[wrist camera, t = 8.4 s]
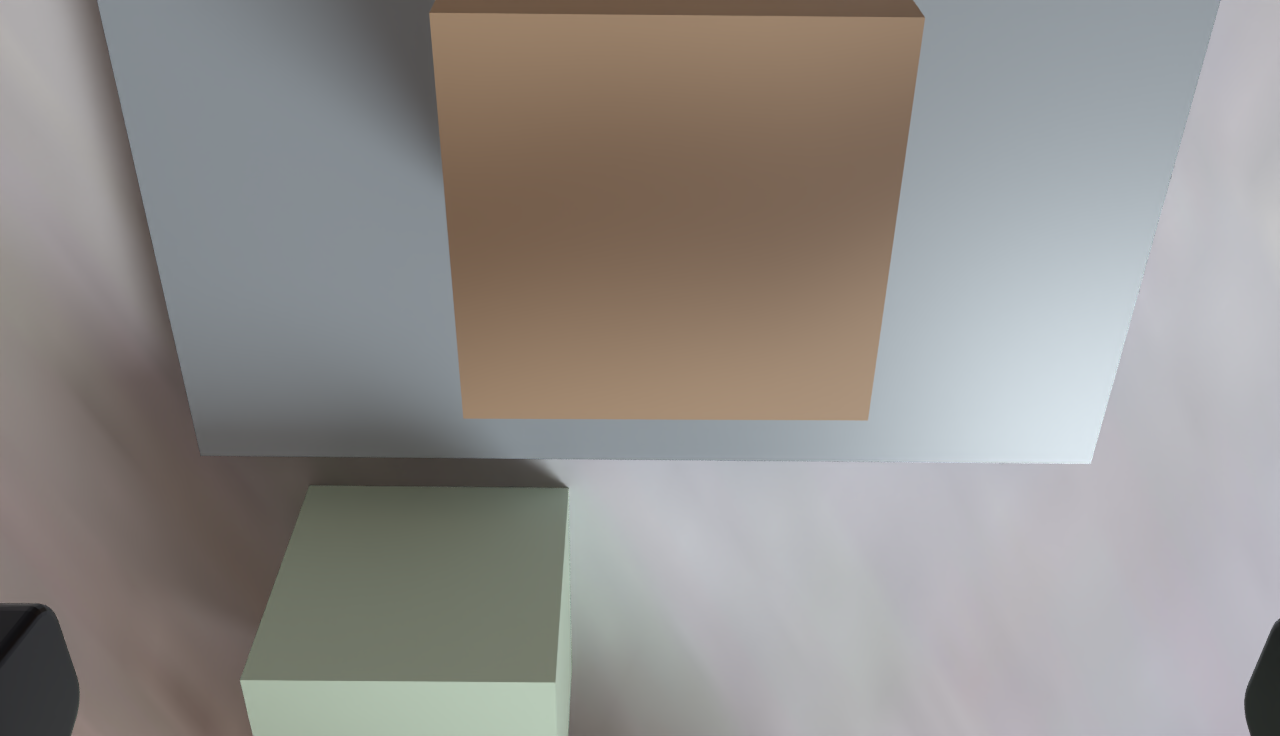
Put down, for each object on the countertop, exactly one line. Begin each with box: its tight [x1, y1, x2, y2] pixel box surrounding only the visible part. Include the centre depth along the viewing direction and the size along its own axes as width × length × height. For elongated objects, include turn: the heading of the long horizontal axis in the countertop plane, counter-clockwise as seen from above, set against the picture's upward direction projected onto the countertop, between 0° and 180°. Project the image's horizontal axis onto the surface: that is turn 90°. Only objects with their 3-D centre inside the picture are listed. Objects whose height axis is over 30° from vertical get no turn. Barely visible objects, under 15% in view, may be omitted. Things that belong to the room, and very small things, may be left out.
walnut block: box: [429, 0, 925, 421], centre depth 16 cm, size 5×5×5 cm
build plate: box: [97, 0, 1220, 464], centre depth 18 cm, size 14×16×1 cm
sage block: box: [240, 485, 572, 736], centre depth 23 cm, size 5×5×5 cm
